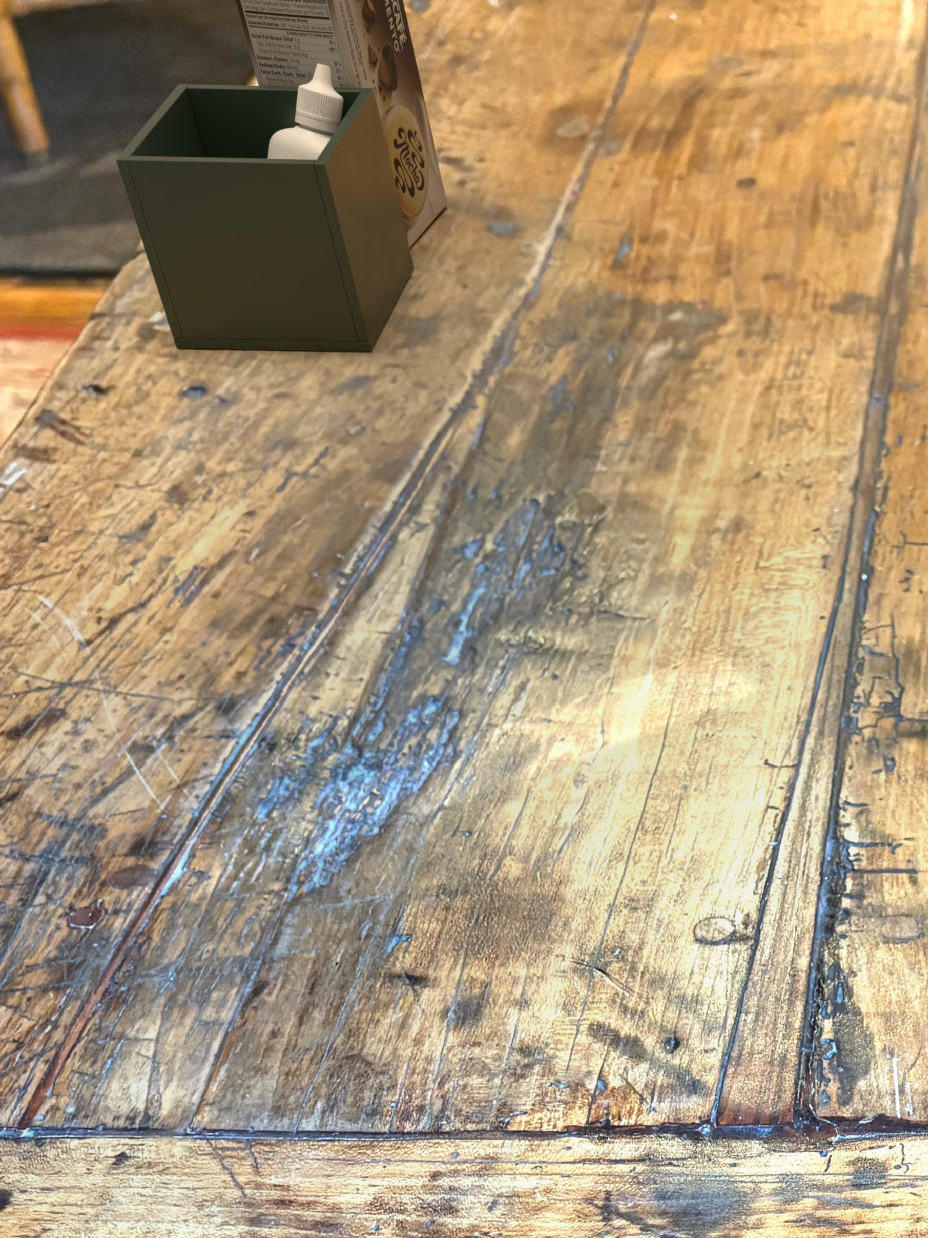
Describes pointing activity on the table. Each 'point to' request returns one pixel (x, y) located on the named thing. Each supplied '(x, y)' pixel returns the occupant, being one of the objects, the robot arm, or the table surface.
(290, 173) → the trash can
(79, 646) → the table surface
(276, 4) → the coffee box
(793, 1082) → the table surface
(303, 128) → the eye dropper bottle
